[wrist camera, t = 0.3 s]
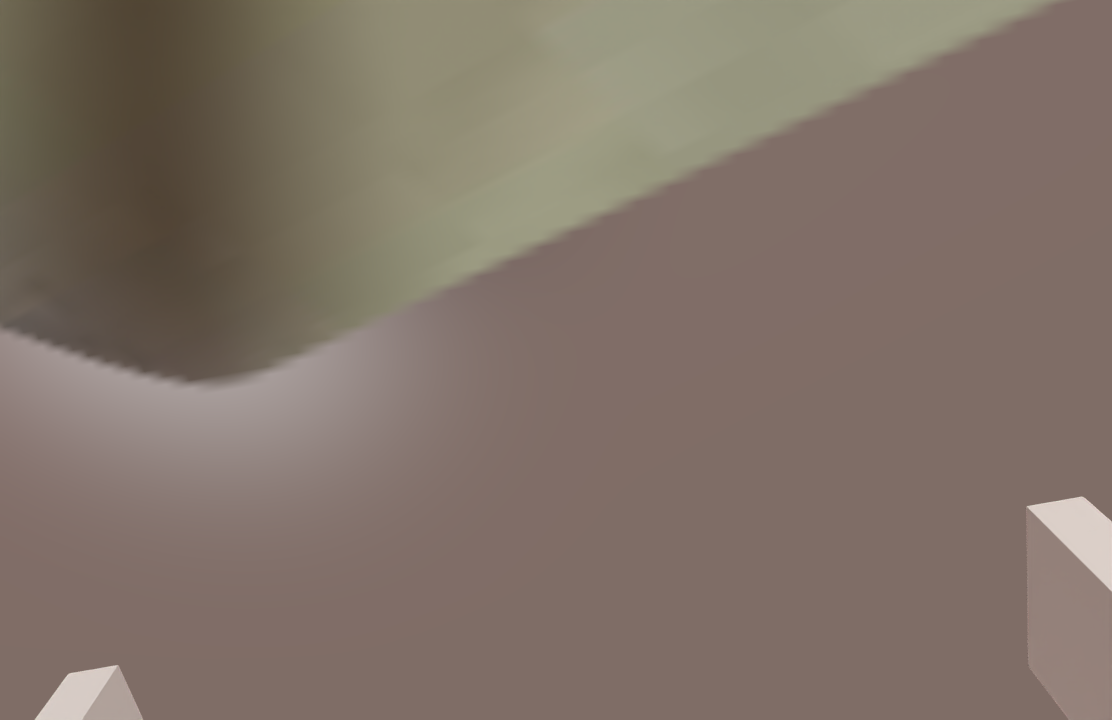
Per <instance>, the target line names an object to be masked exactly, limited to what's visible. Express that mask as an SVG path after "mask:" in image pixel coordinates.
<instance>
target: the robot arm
mask: <svg viewBox="0 0 1112 720" xmlns="http://www.w3.org/2000/svg"><path fill="white" fill-rule="evenodd" d="M1027 592H1028V593H1027V596H1028V598H1027V599H1028V666H1029V668H1030V669H1031V670H1032V671H1033V673H1034V674H1035V675H1036V677H1037V678H1038V679H1039V681H1040V682H1041V683H1042V685H1043V686H1044V687H1045V689H1046V690H1047V691H1048V693H1049V694H1050V695H1051V697H1052V698H1053V699H1054V701H1055V702H1056V703H1057V705H1058V706H1059V707H1060V709H1061V710H1062V711H1063V713H1064V714H1065V715H1066V716H1067V718H1068V719H1069V720H1112V522H1111V521H1110V520H1109V519H1108V518H1107V517H1106V516H1104V515H1103V514H1102V513H1101V512H1100V511H1099V510H1097V508H1095V507H1094V506H1093V505H1092V504H1091V503H1090V502H1089V501H1087V500H1086V499H1085V498H1084V497H1078V498H1072V499H1066V500H1060V501H1055V502H1049V503H1043V504H1037V505H1032V506H1027ZM35 720H143V718H142V716H141V714H140V711H139V709H138V707H137V705H136V703H135V700H134V699H133V696H132V694H131V692H130V690H129V687H128V685H127V683H126V681H125V679H124V677H123V674H122V672H121V670H120V668H119V666H118V665H116V666H110V667H104V668H98V669H93V670H87V671H81V672H75V673H70V674H68V675H67V676H66V678H65V679H64V680H63V682H62V683H61V684H60V686H59V687H58V689H57V690H56V691H55V693H54V694H53V696H52V697H51V698H50V700H49V701H48V702H47V704H46V705H45V706H44V708H43V709H42V710H41V712H40V713H39V715H38V716H37V717H36V719H35Z"/></svg>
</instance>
